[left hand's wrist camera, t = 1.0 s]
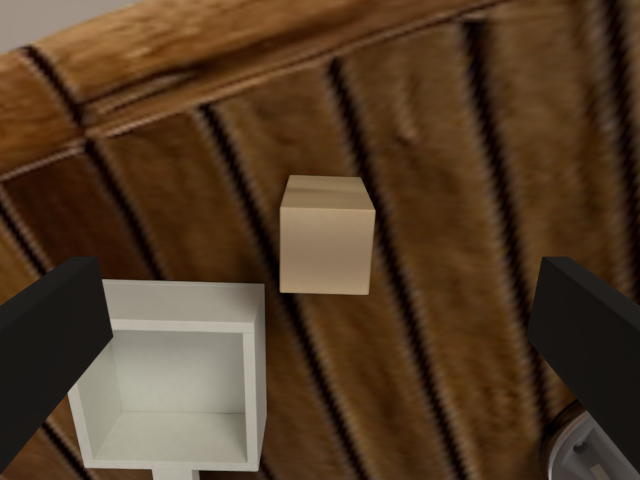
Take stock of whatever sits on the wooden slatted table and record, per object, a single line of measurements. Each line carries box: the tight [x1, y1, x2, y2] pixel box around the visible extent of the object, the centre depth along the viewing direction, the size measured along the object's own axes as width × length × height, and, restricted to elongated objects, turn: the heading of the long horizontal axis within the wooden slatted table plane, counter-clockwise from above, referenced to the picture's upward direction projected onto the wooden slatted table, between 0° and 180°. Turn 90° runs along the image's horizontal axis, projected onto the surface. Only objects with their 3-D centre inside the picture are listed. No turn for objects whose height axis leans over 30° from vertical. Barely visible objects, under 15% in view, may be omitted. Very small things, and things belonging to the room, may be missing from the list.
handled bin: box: [68, 279, 267, 480], centre depth 31 cm, size 26×13×12 cm, turn 178°
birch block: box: [280, 175, 375, 295], centre depth 26 cm, size 5×5×8 cm
